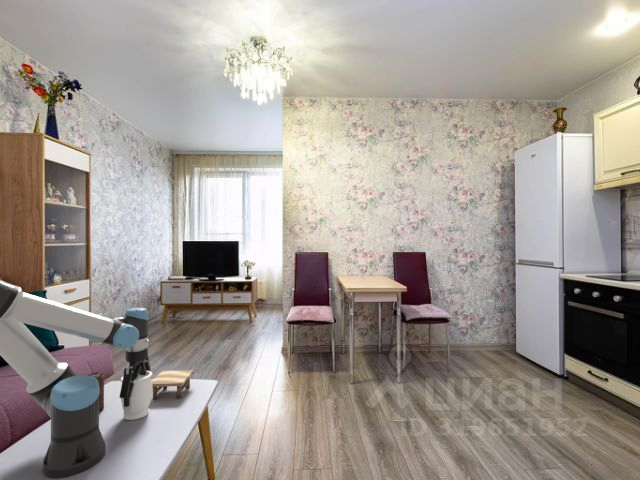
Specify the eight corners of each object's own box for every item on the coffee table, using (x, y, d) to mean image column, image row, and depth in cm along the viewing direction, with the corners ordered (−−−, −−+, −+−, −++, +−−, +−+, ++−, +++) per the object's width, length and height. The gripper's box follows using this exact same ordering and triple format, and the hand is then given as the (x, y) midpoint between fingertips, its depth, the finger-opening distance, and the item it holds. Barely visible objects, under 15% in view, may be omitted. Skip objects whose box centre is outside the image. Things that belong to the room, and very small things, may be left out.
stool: (182, 400, 136) (182, 383, 136) (147, 400, 135) (147, 384, 135) (193, 385, 150) (193, 370, 150) (162, 386, 149) (162, 370, 149)
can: (108, 407, 130) (108, 371, 130) (95, 415, 124) (95, 378, 124) (94, 406, 131) (94, 371, 131) (80, 414, 124) (81, 377, 124)
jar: (144, 405, 131) (144, 368, 132) (157, 413, 125) (157, 373, 126) (115, 416, 123) (115, 376, 123) (128, 425, 117) (128, 383, 117)
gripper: (130, 359, 112) (130, 422, 112) (160, 339, 137) (160, 390, 136) (107, 360, 112) (107, 423, 112) (142, 339, 136) (142, 391, 136)
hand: (136, 405), depth 124 cm, fingers open, 12 cm apart
